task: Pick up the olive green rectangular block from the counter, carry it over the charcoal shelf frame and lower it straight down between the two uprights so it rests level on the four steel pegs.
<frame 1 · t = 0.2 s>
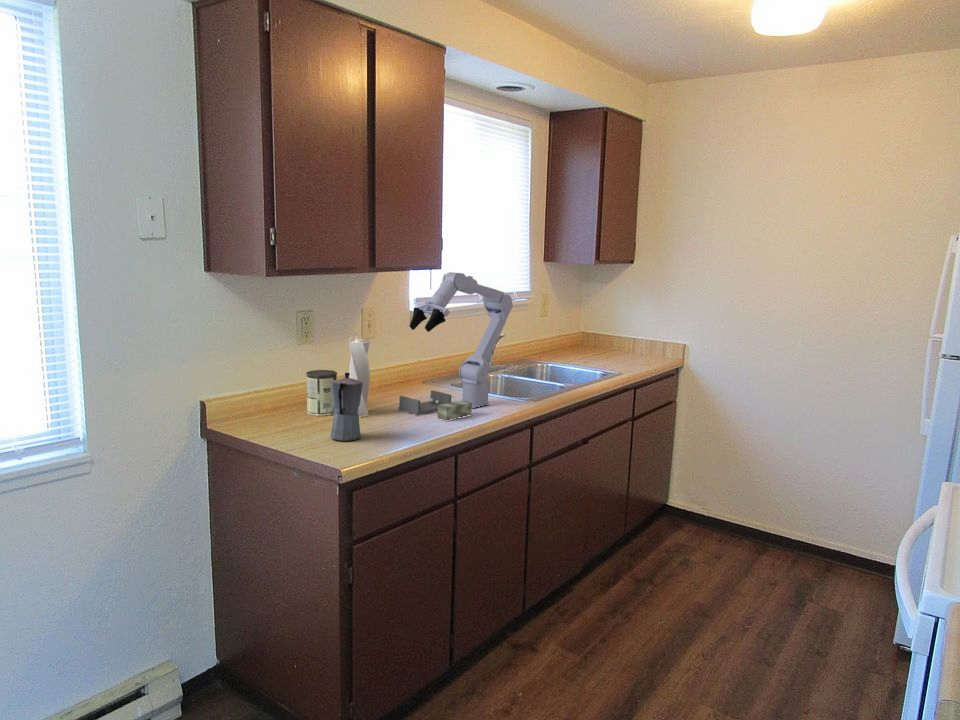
hand: (418, 328, 222), 31 cm above the counter, tool tilted 45°, fingers open, 7 cm apart
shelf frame: (425, 409, 240), on the counter
moka pot: (346, 439, 201), on the counter
skyscraper: (358, 415, 230), on the counter
coffee can: (321, 413, 231), on the counter
olive green rectangular block: (454, 417, 230), on the counter
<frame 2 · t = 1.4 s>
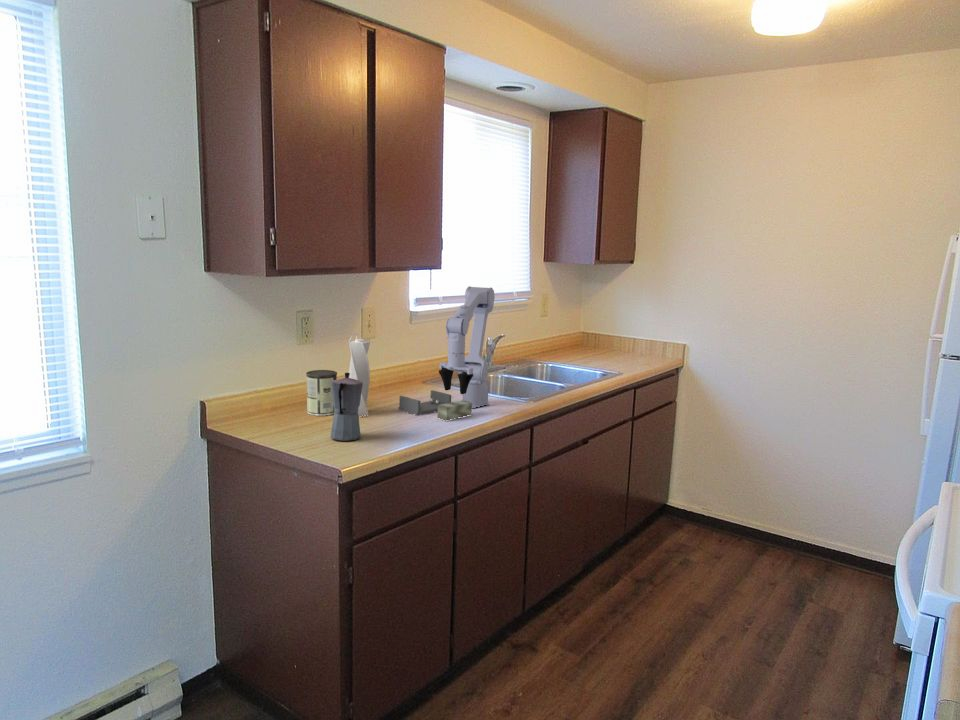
hand: (455, 391, 228), 9 cm above the counter, tool pointing down, fingers open, 7 cm apart
nothing on the counter moved.
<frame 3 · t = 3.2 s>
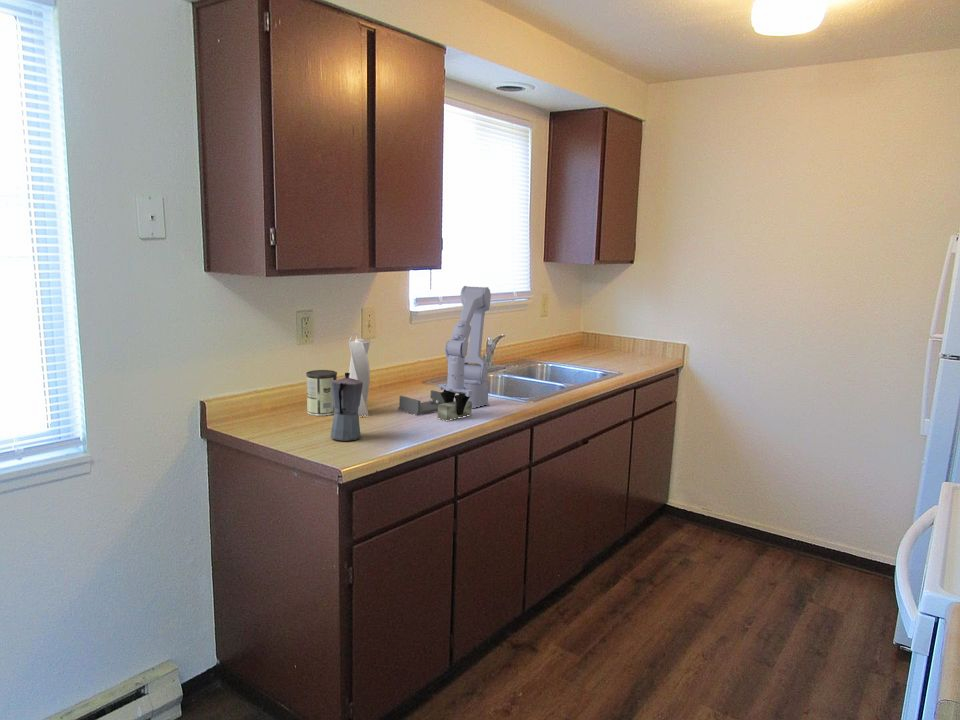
hand: (454, 413, 230), 1 cm above the counter, tool pointing down, fingers closed on olive green rectangular block, 4 cm apart
olive green rectangular block: (454, 417, 230), on the counter, touching gripper
everything else where it was.
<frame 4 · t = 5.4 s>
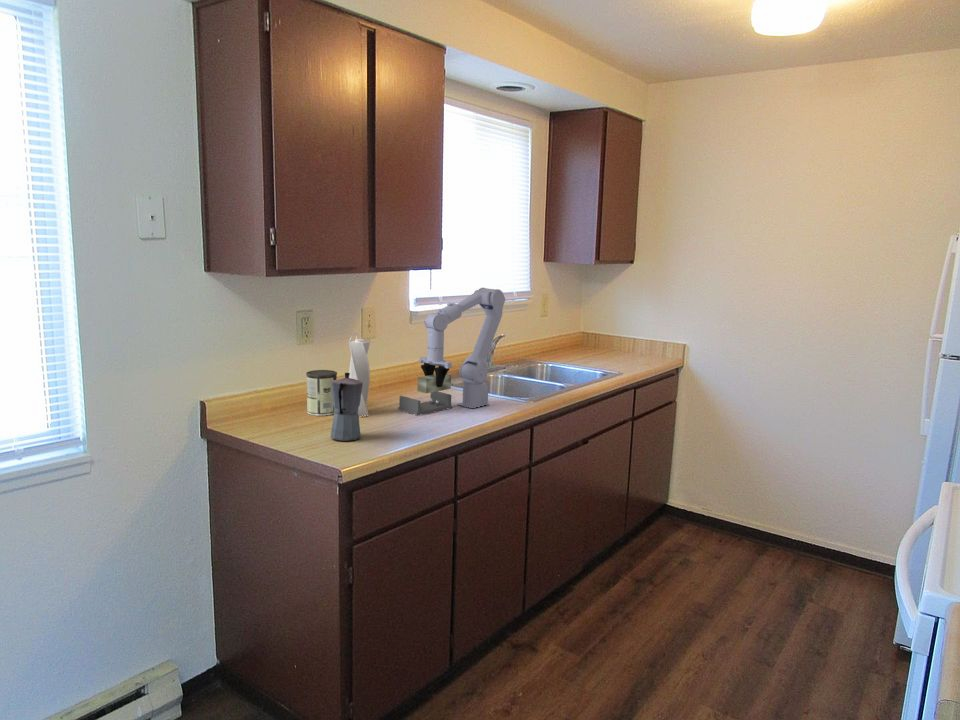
hand: (434, 385, 235), 9 cm above the counter, tool pointing down, fingers closed on olive green rectangular block, 4 cm apart
olive green rectangular block: (434, 389, 236), point 8 cm above the counter, touching gripper
everything else where it was.
when the fingers open (5 cm above the counter, at t = 7.6 s): olive green rectangular block stays where it is, resting on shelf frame.
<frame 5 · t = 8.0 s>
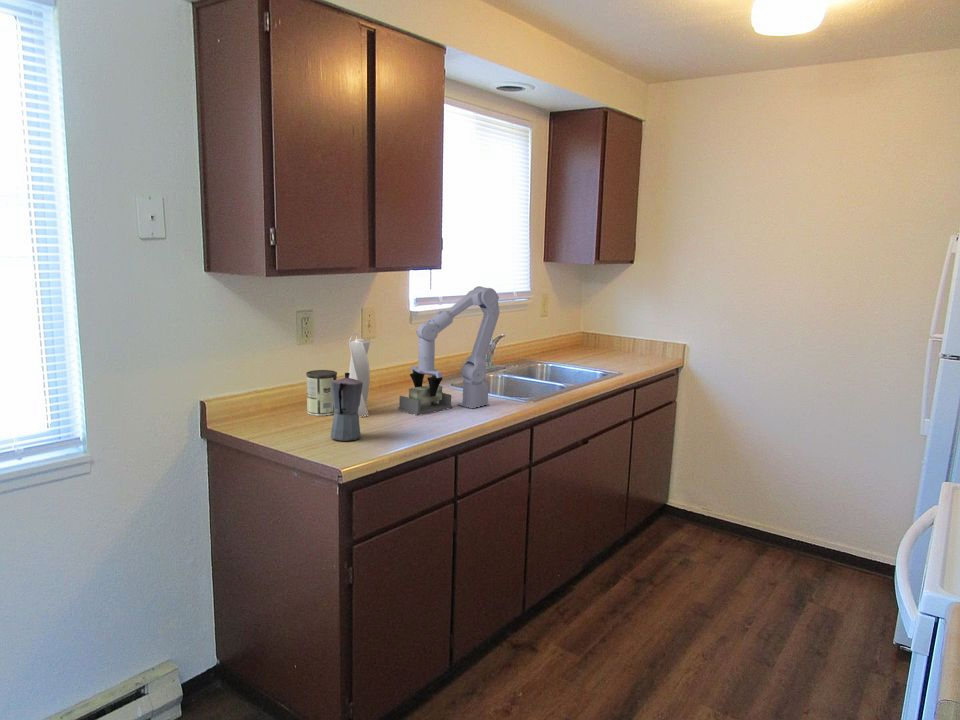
hand: (425, 394, 239), 5 cm above the counter, tool pointing down, fingers open, 7 cm apart
olive green rectangular block: (425, 401, 239), point 3 cm above the counter, touching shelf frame
everything else where it was.
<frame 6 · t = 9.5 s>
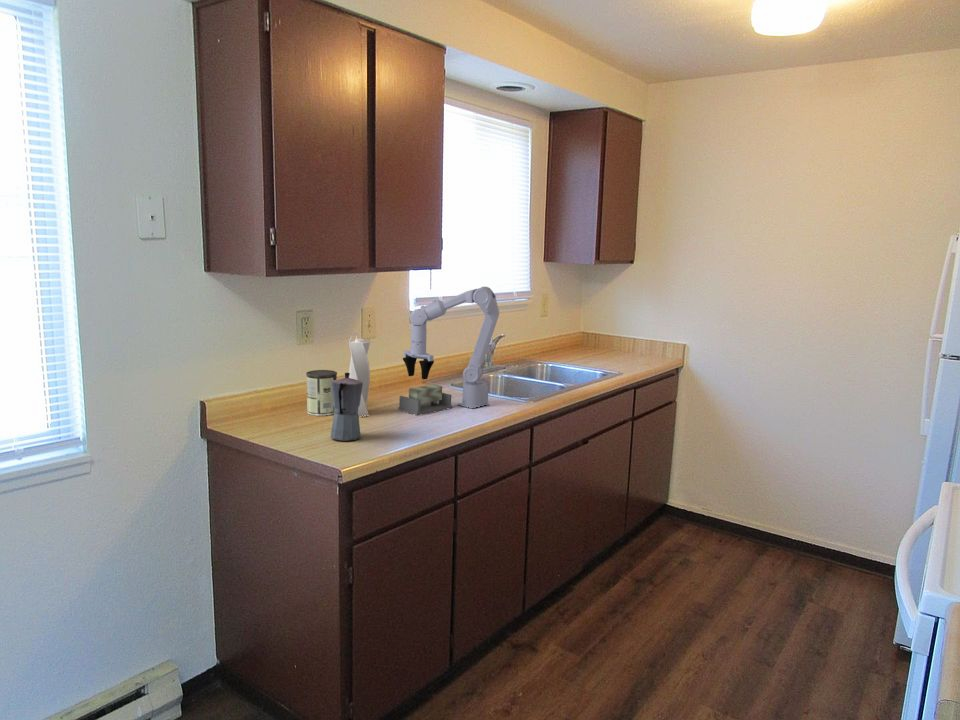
hand: (417, 377, 249), 9 cm above the counter, tool pointing down, fingers open, 7 cm apart
nothing on the counter moved.
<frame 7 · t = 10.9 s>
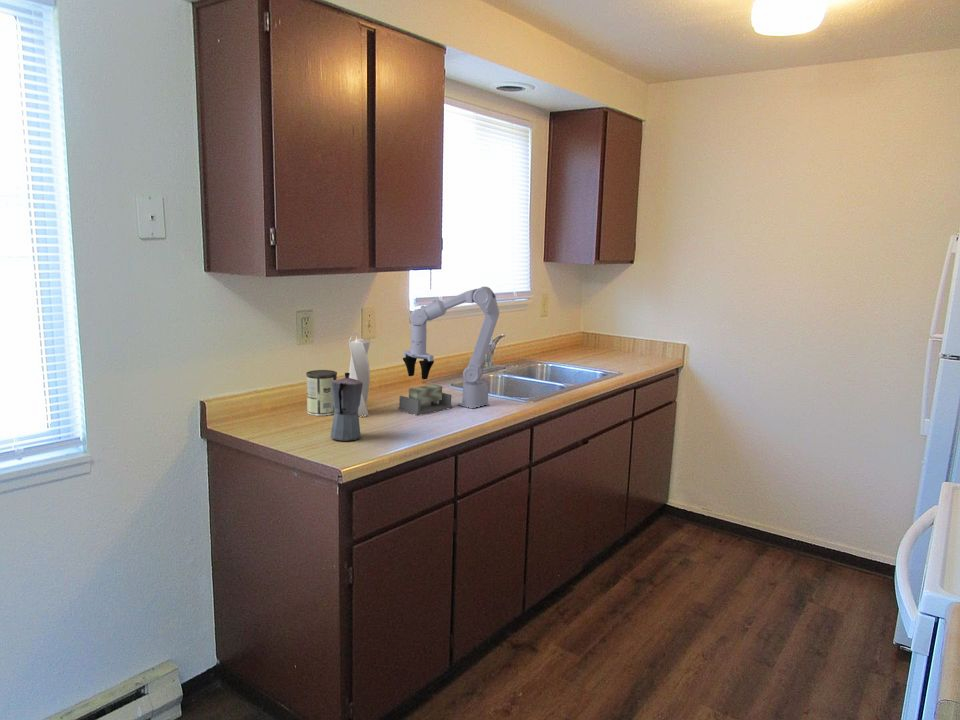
hand: (417, 377, 249), 9 cm above the counter, tool pointing down, fingers open, 7 cm apart
nothing on the counter moved.
at the end: olive green rectangular block 0.1 cm off-centre on the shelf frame, point 3.0 cm above the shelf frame's base; olive green rectangular block tilted 0°; the gripper is holding nothing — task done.
